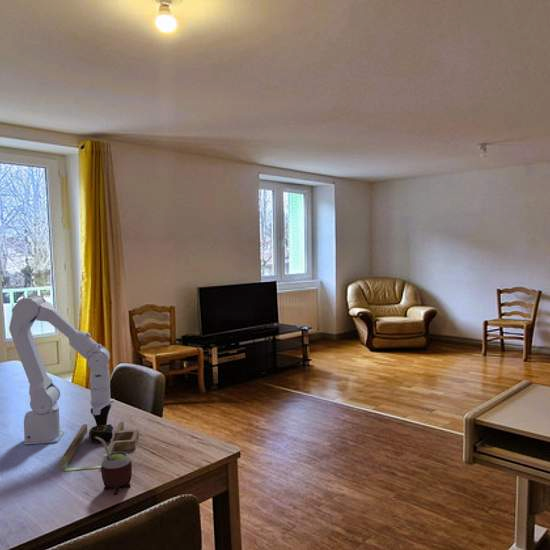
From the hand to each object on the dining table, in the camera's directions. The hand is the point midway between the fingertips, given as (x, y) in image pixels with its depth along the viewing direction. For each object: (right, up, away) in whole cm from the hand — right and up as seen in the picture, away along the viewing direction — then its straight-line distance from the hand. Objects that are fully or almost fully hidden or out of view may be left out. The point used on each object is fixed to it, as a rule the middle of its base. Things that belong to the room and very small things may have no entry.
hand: (101, 429), depth 146 cm
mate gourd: (+16, -4, -33) cm, 37 cm away
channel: (+4, -2, -10) cm, 11 cm away
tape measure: (+2, -2, -4) cm, 5 cm away
